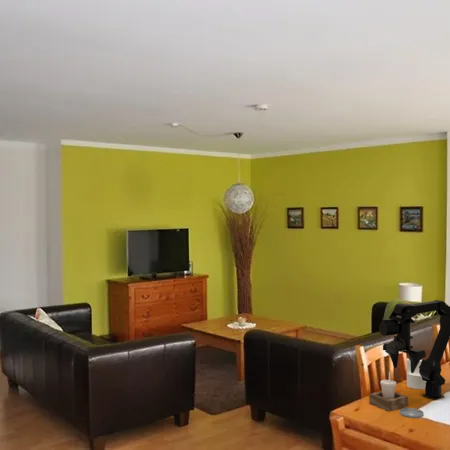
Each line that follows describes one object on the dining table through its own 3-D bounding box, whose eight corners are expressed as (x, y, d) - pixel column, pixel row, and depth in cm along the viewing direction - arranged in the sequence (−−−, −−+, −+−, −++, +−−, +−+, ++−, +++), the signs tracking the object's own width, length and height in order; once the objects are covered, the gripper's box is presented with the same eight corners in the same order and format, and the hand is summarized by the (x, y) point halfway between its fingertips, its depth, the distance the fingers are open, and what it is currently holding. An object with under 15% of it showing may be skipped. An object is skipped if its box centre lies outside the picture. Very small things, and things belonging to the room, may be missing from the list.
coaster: (410, 408, 220) (410, 406, 220) (428, 415, 212) (428, 413, 212) (394, 412, 216) (394, 410, 216) (412, 419, 208) (412, 417, 208)
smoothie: (394, 408, 220) (394, 374, 220) (378, 405, 223) (378, 372, 223) (398, 403, 225) (398, 370, 225) (383, 401, 229) (382, 368, 229)
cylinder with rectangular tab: (405, 387, 247) (405, 361, 247) (408, 382, 255) (408, 356, 255) (426, 390, 243) (425, 363, 242) (428, 384, 251) (428, 358, 250)
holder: (388, 398, 232) (387, 389, 232) (408, 406, 222) (408, 396, 222) (369, 403, 226) (369, 394, 226) (389, 411, 217) (389, 401, 217)
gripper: (373, 332, 233) (373, 368, 233) (407, 340, 216) (407, 378, 217) (391, 329, 238) (392, 364, 238) (426, 336, 222) (426, 374, 222)
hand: (403, 370), depth 229 cm, fingers open, 9 cm apart
